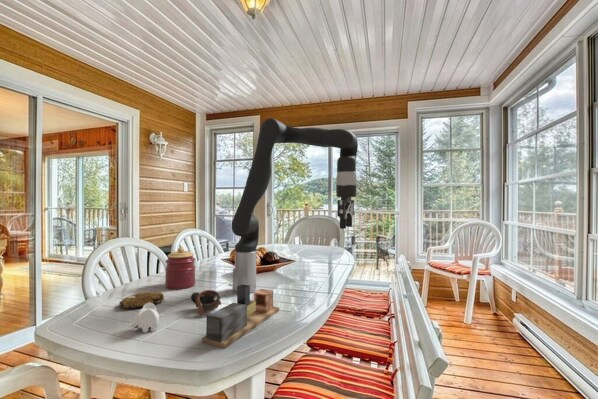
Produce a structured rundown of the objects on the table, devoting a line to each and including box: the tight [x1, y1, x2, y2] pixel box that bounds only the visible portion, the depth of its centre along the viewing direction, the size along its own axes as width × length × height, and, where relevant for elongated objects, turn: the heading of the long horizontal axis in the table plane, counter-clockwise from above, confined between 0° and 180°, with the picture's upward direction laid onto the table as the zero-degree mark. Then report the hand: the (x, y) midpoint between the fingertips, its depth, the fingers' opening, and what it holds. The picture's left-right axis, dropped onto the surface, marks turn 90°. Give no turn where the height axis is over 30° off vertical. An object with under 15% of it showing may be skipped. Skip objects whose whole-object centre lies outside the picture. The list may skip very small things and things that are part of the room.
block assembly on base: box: [201, 288, 280, 349], centre depth 94 cm, size 30×8×8 cm, turn 155°
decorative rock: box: [119, 292, 165, 309], centre depth 112 cm, size 11×4×15 cm
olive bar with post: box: [236, 284, 256, 316], centre depth 89 cm, size 18×3×9 cm, turn 155°
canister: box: [164, 246, 196, 290], centre depth 137 cm, size 13×13×18 cm
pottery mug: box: [190, 289, 222, 316], centre depth 106 cm, size 12×10×8 cm
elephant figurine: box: [127, 302, 164, 334], centre depth 90 cm, size 8×10×7 cm
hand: (346, 227), depth 112 cm, fingers open, 8 cm apart
